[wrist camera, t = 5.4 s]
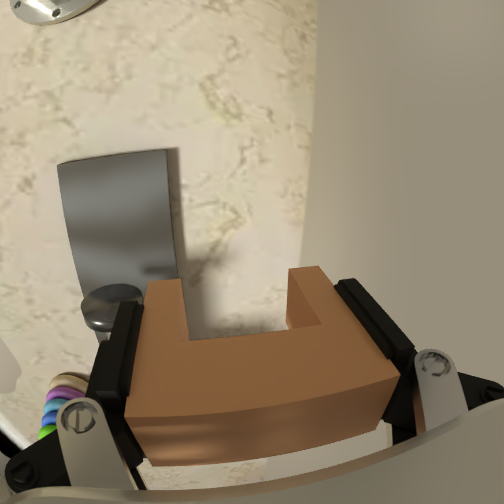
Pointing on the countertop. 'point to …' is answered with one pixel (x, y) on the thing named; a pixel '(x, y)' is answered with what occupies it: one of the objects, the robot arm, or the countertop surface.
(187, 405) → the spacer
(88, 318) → the shaft
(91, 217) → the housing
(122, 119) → the countertop surface
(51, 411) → the stacking toy
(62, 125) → the countertop surface
